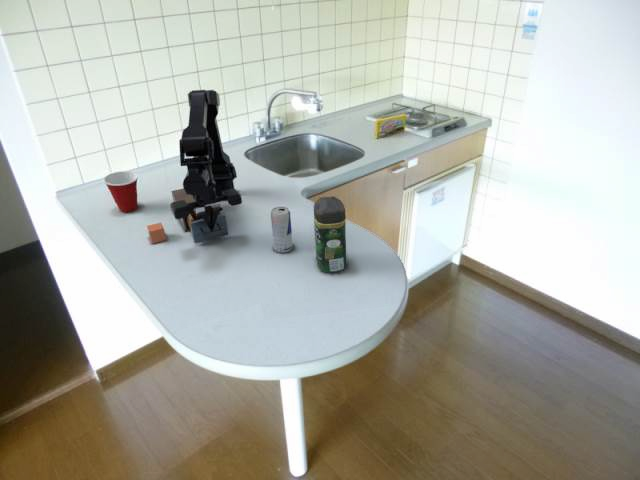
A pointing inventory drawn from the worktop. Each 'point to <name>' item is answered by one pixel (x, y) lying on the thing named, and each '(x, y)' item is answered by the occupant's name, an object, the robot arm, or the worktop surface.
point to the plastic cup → (123, 189)
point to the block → (156, 233)
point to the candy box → (390, 126)
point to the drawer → (206, 227)
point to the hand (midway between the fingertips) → (211, 229)
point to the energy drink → (281, 229)
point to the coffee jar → (330, 234)
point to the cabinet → (188, 198)
